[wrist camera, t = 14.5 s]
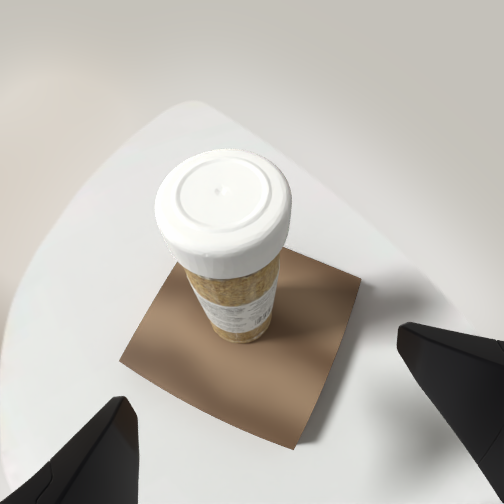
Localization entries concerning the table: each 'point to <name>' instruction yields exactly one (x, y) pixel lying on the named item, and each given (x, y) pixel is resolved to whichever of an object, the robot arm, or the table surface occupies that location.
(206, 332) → the brown wooden square board
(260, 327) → the sprinkles bottle
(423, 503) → the table surface
